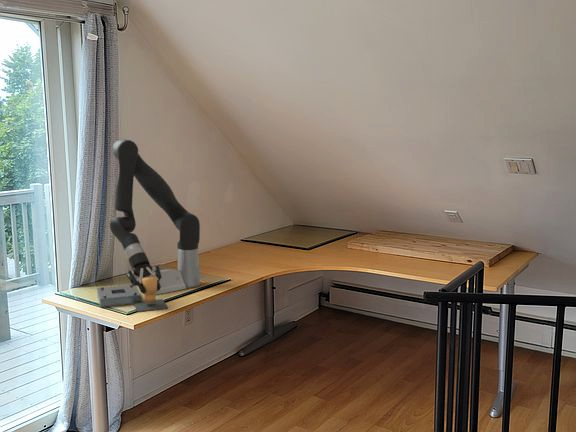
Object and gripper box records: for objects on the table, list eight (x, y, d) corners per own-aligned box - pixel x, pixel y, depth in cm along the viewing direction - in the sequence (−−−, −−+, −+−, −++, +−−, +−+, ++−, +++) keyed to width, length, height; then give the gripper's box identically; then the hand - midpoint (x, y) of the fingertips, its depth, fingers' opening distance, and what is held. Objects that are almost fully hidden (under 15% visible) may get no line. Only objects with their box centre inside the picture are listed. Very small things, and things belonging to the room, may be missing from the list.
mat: (162, 300, 254) (162, 298, 254) (167, 308, 243) (167, 307, 243) (133, 303, 250) (133, 302, 250) (137, 312, 239) (137, 310, 239)
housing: (135, 292, 265) (135, 283, 264) (140, 303, 250) (140, 293, 249) (97, 295, 259) (96, 286, 258) (100, 307, 244) (100, 297, 244)
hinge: (152, 295, 260) (147, 272, 261) (147, 296, 264) (143, 273, 265) (187, 288, 270) (182, 266, 271) (182, 289, 274) (178, 267, 275)
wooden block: (156, 298, 250) (155, 275, 248) (158, 302, 245) (158, 278, 243) (141, 300, 248) (140, 276, 246) (143, 304, 242) (142, 280, 241)
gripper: (123, 254, 244) (138, 289, 237) (155, 249, 253) (170, 283, 246) (117, 264, 249) (132, 299, 242) (149, 259, 258) (164, 292, 251)
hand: (151, 291), depth 244 cm, fingers closed on wooden block, 6 cm apart
